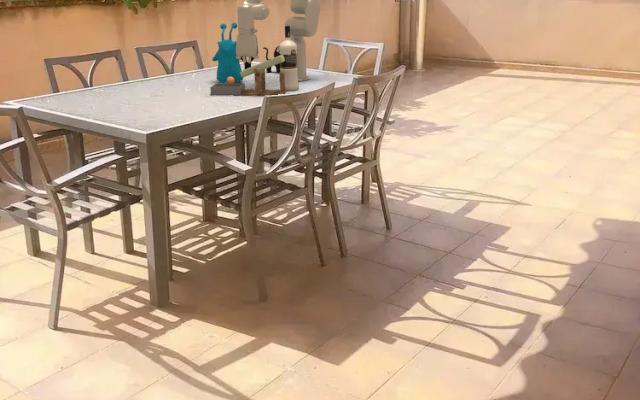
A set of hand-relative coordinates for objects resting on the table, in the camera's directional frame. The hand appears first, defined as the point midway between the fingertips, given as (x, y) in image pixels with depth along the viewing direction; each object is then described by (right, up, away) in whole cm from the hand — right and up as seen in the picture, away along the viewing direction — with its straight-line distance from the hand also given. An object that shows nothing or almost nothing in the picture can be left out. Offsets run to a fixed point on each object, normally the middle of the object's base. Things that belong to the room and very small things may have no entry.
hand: (248, 71), depth 330 cm
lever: (+9, -1, -6) cm, 11 cm away
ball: (-7, -6, -7) cm, 12 cm away
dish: (-9, -12, -5) cm, 15 cm away
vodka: (+20, -9, +2) cm, 22 cm away
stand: (+8, -12, -7) cm, 16 cm away
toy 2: (+10, +8, +51) cm, 53 cm away
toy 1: (-12, -1, +26) cm, 28 cm away
